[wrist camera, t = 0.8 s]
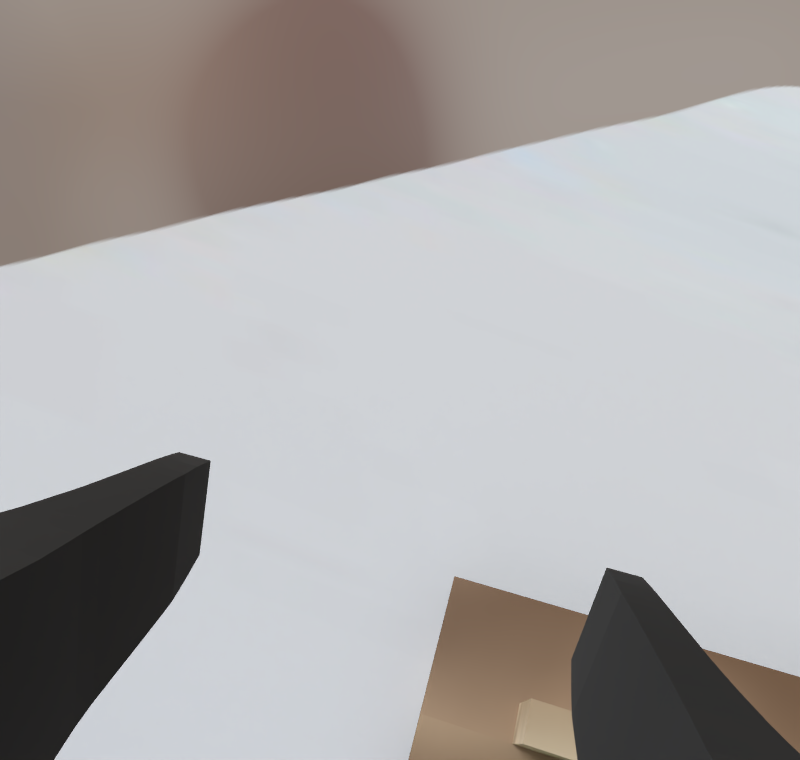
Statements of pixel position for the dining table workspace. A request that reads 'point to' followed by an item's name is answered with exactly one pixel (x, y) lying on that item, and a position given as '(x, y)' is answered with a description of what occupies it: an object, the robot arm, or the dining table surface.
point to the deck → (537, 681)
